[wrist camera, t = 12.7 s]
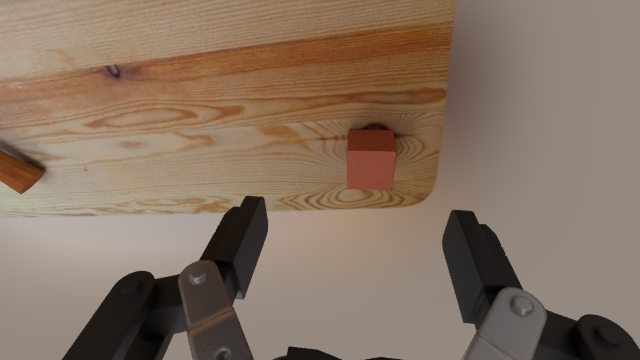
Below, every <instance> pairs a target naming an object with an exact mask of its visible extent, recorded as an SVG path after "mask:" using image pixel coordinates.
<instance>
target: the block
mask: <svg viewBox="0 0 640 360" xmlns="http://www.w3.org/2000/svg"><path fill="white" fill-rule="evenodd" d="M396 154H397V151H396V145H395V140H394V134H393V130H354V129H350V130H349V139H348V150H347V189H365V190H392V186H393V178H394V170H395V162H396Z"/></svg>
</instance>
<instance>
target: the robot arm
mask: <svg viewBox="0 0 640 360" xmlns="http://www.w3.org/2000/svg"><path fill="white" fill-rule="evenodd" d="M267 232H268V219H267V213H266V206H265V200H264V198H263V197H257V196H246V197H245V198H244V200H243V202H242V204H241V206H240V207H232V208H231V209H230V210H229V211H228V212H227V213H225V215H224V217H223V218H222V220H221V222H220V225H218V227H217V229H216V232H215V233H214V235H213V236H212V238H211V240H210V242H209V243H208V245H207V247H206V249H205V251H204V252H203V254H202V256H201V258H200V259H199V261H197V262H194V263H192V264H190V265H188V266H187V267H186V268H185V269H184V270H183V271H182V272H181V274H178V275H174V276H169V277H164V278H159V279H155V278H154V276H153V275H152V274H151V273H150V272H147V271H137V272H133V273H131V274H128V275H126V276H125V277H123V278H122V279H120V280H119V281H118V282H117V283H116V284H115V285H114V287H113V288H112V289H111V291H110V292H109V294H108V295H107V296H106V298H105V299H104V301H103V302H102V303H101V305H100V306H99V308H98V309H97V311H96V312H95V313H94V315H93V316H92V318H91V319H90V321H89V322H88V323H87V325H86V326H85V328H84V329H83V330H82V332H81V333H80V335H79V336H78V338H77V339H76V340H75V342H74V343H73V345H72V346H71V348H70V349H69V350H68V352H67V353H66V355H65V356H64V357H63V359H62V360H162V359H163V357H164V355H165V352H166V350H167V348H168V345H169V344H170V341H171V339H172V337H173V335H174V334H176V333H180V332H185V331H187V336H188V341H189V345H190V350H191V353H192V358H193V360H254V359H253V356H252V354H251V351H250V348H249V346H248V343H247V341H246V338H245V335H244V333H243V330H242V328H241V325H240V322H239V320H238V317H237V315H236V312H235V310H234V308H233V306H232V305H233V303H234V300H235V299H244V298H245V295H246V292H247V289H248V286H249V284H250V281H251V278H252V275H253V273H254V270H255V267H256V264H257V261H258V258H259V256H260V253H261V250H262V247H263V244H264V242H265V239H266V236H267ZM442 245H443V251H444V255H445V259H446V262H447V266H448V269H449V273H450V276H451V280H452V284H453V287H454V290H455V294H456V298H457V301H458V305H459V309H460V312H461V315H462V319H463V322H464V323H471V324H475V327H476V331H477V332H476V334H475V335H474V337H473V339H472V341H471V343H470V345H469V347H468V348H467V350H466V352H465V354H464V356H463V358H462V360H640V349H639V348H638V346H637V345H636V343H635V342H634V340H633V339H632V337H631V336H630V335H629V334H628V333H627V332H626V331H625V330H624V329H623V328H621V327H620V326H619V325H617V324H616V323H614V322H612V321H611V320H609V319H607V318H604V317H601V316H598V315H591V314H588V315H584V316H582V317H581V318H580V319H579V320H578V321H576V320H573V319H570V318H567V317H564V316H561V315H559V314H556V313H553V312H550V311H548V310H546V309H545V308H544V306H543V305H542V304H541V302H540V301H539V300H538V299H537V298H535V297H534V296H533V295H532V294H530V293H528V292H526V291H524V290H523V288H522V286H521V284H520V282H519V280H518V278H517V276H516V274H515V273H514V270H513V268H512V266H511V264H510V262H509V260H508V258H507V256H505V252H504V250H503V248H502V247H501V244H500V242H499V240H498V238H497V236H496V234H495V233H494V232H493V231H492V230H491V229H490V228H489V227H488V226H487V225H486V224H479V223H478V221H477V219H476V216H475V214H474V213H473V212H472V211H463V210H452V211H451V213H450V216H449V220H448V222H447V225H446V228H445V231H444V235H443V240H442ZM273 360H341V359H339V358H337V357H334V356H332V355H329V354H327V353H324V352H322V351H320V350H314V349H307V348H298V347H288V352H287V356H281V357H278V358H275V359H273ZM366 360H400V359H392V358H384V357H378V358H372V359H366Z"/></svg>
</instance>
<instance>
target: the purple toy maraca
mask: <svg viewBox="0 0 640 360" xmlns="http://www.w3.org/2000/svg"><path fill="white" fill-rule="evenodd" d="M44 173H45V171H43V170H41V169H39V168H36V167H34V166H32V165H30V164H28V163H25V162H23V161H21V160H19V159H17V158H15V157H12V156H10V155H8V154H6V153H4V152H1V151H0V181H2V182H3V183H5V184H6V185H8V186H9V187H11V188H12V189H14V190H15V191H17V192H18V193H20V194H22V193H24V192H25V191H27V190H28V189H29V188H31V187H32V186H33V185H34V184H35V183H36V182H37V181H38V180H39V179H40V178H41V177H42V176H43V174H44Z"/></svg>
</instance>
